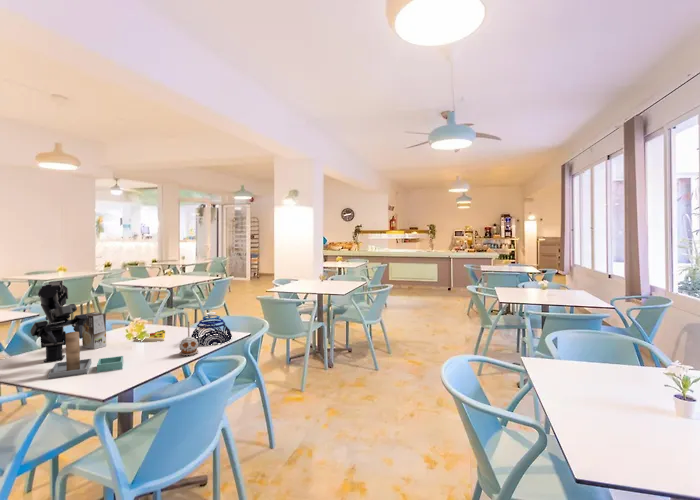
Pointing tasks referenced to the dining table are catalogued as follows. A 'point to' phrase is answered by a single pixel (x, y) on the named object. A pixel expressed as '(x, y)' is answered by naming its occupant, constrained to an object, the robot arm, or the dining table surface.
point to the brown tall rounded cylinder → (72, 351)
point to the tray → (61, 371)
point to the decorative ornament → (188, 345)
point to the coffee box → (94, 331)
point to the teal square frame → (110, 364)
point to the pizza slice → (154, 337)
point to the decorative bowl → (211, 330)
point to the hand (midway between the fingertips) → (69, 340)
